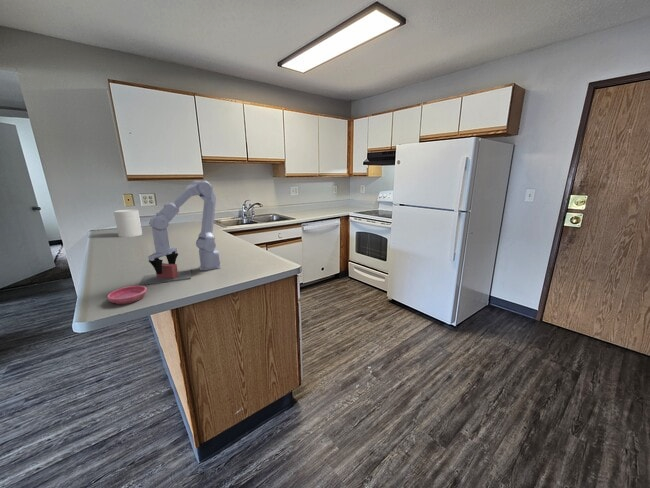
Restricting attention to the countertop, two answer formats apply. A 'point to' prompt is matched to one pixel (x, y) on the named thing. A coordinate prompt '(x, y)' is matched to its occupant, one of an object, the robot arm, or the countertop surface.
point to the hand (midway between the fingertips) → (166, 270)
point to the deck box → (168, 271)
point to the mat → (154, 279)
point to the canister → (128, 223)
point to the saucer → (127, 294)
